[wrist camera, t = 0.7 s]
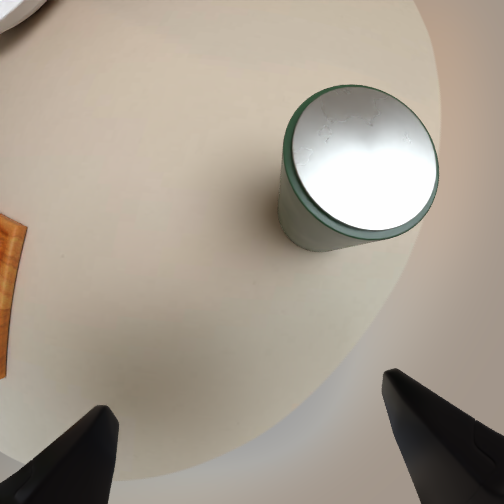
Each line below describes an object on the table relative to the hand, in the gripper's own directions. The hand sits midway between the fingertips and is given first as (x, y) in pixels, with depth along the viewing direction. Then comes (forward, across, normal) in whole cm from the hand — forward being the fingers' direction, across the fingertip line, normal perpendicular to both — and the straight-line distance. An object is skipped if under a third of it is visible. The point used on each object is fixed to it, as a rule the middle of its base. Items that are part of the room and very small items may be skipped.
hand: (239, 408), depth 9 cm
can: (+15, -6, -1) cm, 16 cm away
